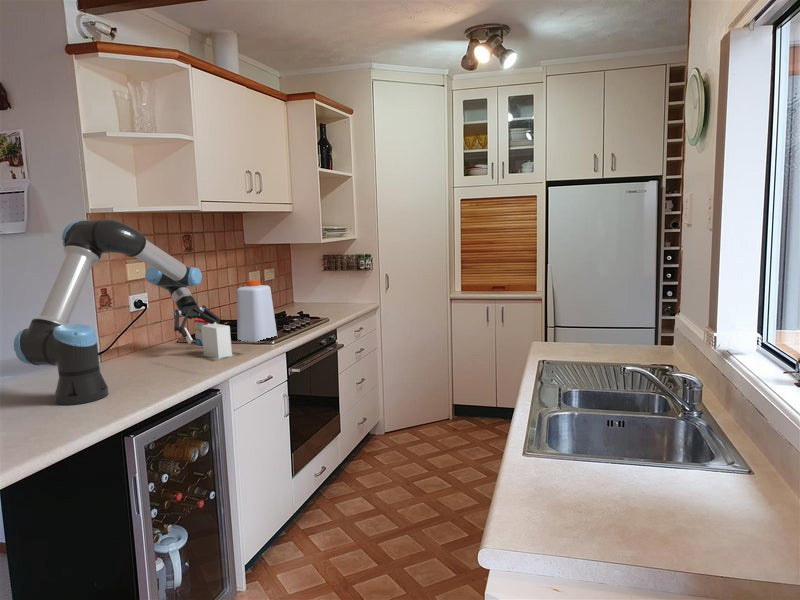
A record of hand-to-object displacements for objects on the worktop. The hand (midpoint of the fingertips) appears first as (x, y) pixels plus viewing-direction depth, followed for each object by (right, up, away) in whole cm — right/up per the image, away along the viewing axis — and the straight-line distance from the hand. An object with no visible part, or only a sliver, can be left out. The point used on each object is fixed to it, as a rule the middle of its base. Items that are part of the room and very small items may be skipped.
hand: (206, 339), depth 243 cm
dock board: (+6, -7, -5) cm, 11 cm away
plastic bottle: (+15, -3, +26) cm, 30 cm away
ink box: (-7, -4, +23) cm, 25 cm away
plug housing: (+6, -6, -5) cm, 10 cm away
